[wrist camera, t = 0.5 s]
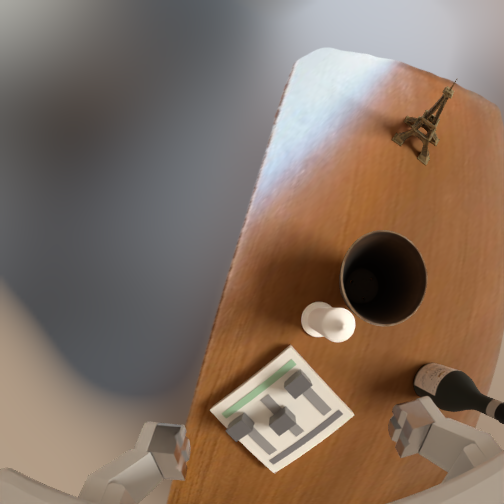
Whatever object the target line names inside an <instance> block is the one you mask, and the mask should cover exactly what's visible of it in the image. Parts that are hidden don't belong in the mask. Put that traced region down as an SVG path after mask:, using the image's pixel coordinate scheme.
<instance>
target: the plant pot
mask: <svg viewBox="0 0 504 504" xmlns="http://www.w3.org/2000/svg"><path fill="white" fill-rule="evenodd" d="M370 278H372V280H371V279H370ZM351 280H352V283H350V281H351ZM339 287H340V292H341V295H342V298H343V300H344V302H345V303H346V305H347V306H348V307H349V309H350V310H351V311H352V312H353V313H354V314H356V315H357V316H358V317H359V318H361V319H362V320H364V321H366V322H368V323H370V324H373V325H377V326H392V325H396V324H399V323H401V322H403V321H405V320H407V319H408V318H410V317H411V316H412V315H413V314H414V313H415V312H416V311H417V309H418V308H419V306H420V305H421V303H422V301H423V299H424V296H425V293H426V288H427V270H426V265H425V262H424V260H423V257H422V255H421V253H420V252H419V250H418V249H417V247H416V246H415V245H414V244H413V243H412V242H411V241H410V240H409V239H407V238H406V237H404V236H403V235H401V234H399V233H396V232H393V231H388V230H378V231H373V232H370V233H367V234H365V235H363V236H362V237H360V238H359V239H357V240H356V241H355V242H354V243H353V244H352V246H351V247H350V248H349V250H348V251H347V253H346V255H345V257H344V260H343V263H342V266H341V269H340V275H339ZM362 297H364V298H365V299H364V300H362Z"/></svg>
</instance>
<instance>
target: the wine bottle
mask: <svg viewBox="0 0 504 504" xmlns="http://www.w3.org/2000/svg"><path fill="white" fill-rule="evenodd" d="M413 384H414V390H415V392H416V394H418V395H419V396H420V397H425V396H429V397H430V398H431V400H432V401H433V402H434V404H435V405H436V406H437V407H438V408H440V409H442V410H445V411H451V412H457V411H463V410H471V409H472V410H477V411H479V412H482V413H484V414H486V415H488V416H490V417H492V418H494V419H496V420H498V421H499V422H500V423H502V424H504V402H501V401H498V400H495V399H493V398H490V397H487V396H485V395H483V394H481V393H480V392H479V390H478V389H477V387H476V386H475V384H474V382H473V381H472V379H471V378H470V377H469V376H467V375H466V374H465V373H464V372H462V371H459V370H456V369H453V368H449V367H446V366H443V365H440V364H436V363H429V364H426V365H424V366H423V367H421V368H420V370H419V371H418V372H417V374H416V376H415V378H414V383H413Z"/></svg>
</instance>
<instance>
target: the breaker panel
mask: <svg viewBox="0 0 504 504" xmlns="http://www.w3.org/2000/svg"><path fill="white" fill-rule="evenodd" d="M299 369H301V370H302V371H303V372H304V373H305V374H306V376H307V377H308V378H309V379H310V380H311V383H312V386H311V387H310V388H309V389H308V390H306V391H305V392H304V393H303V394H301V395H300V396H299V397H298V398H296V399H294V398H293V397H292V396H291V395H290V394H289V393H288V391H287V390H286V389H285V388H284V382H285V381H286V380H287V379H289V378H290V377H291V376H292V375H293V374H295V373H296V372H297V371H298V370H299ZM285 406H286V407H287V408H288V409H289V410H290V411H291V412H292V413H293V414H294V415H295V417H296V425H294V426H293V427H291V428H290V429H289V430H287V431H286V432H285V433H283V434H282V435H280V436H278V435H277V434H276V433H275V432H274V431H273V430H272V429H271V428H270V427H269V419H270V417H271V416H273V415H274V414H275V413H277V412H278V411H279V410H281V409H282V408H283V407H285ZM210 411H211V412H212V413H213V414H214V415H215V416H216V418H217V419H218V420H219V421H220V422H221V423H222V424H223V425H224V426H225V427H226V428H227V427H228V425H229V423H230V422H232V421H233V420H235V419H236V418H237V417H239V416H240V415H242V414H243V413H244V412H245V413H246V414H247V415H248V416H249V417H250V418H251V419H252V420H253V422H254V427H253V431H252V432H250V433H249V434H247V435H246V436H244V437H243V438H241V439H240V440H239V441H240V442H241V443H242V444H243V445H244V446H245V447H246V448H247V449H248V450H249V451H250V452H251V453H252V454H253V455H254V456H256V457H257V458H258V459H259V460H260V461H261V462H262V463H263V464H264V465H265V466H266V467H268V468H269V469H270V470H271V471H272V472H273V473H275V472H277V471H278V470H280V469H282V468H283V467H285V466H286V465H288V464H289V463H291V462H293V461H294V460H296V459H297V458H299V457H300V456H301V455H303V454H304V453H306V452H307V451H309V450H310V449H312V448H313V447H314V446H316V445H317V444H318V443H320V442H321V441H322V440H324V439H325V438H326V437H328V436H329V435H330V434H332V433H333V432H334V431H336V430H337V429H338V428H339V427H341V426H342V425H343V424H344V423H346V422H347V421H348V420H349V419H350V418H352V417H353V416H354V413H353V412H352V410H351V409H350V408H349V407H348V406H347V405H346V404H345V403H344V402H343V401H342V400H341V399H340V398H339V397H338V396H337V395H336V393H335V392H334V391H333V390H332V389H331V388H330V387H329V386H328V385H327V384H326V383H325V382H324V381H323V380H322V378H321V377H320V376H319V375H318V374H317V373H316V372H315V371H314V370H313V369H312V368H311V367H310V365H309V364H308V363H307V362H306V361H305V360H304V359H303V358H302V357H301V356H300V354H299V353H298V352H297V351H296V350H295V349H294V348H293V347H292V346H291V345H289V346H288V347H287V348H286V349H285V350H283V351H282V352H281V353H280V354H279V355H277V356H276V357H275V358H274V359H273V360H271V361H270V362H269V363H268V364H267V365H265V366H264V367H263V368H262V369H260V370H259V371H258V372H257V373H255V374H254V375H253V376H252V377H250V378H249V379H248V380H247V381H245V382H244V383H243V384H241V385H240V386H239V387H237V388H236V389H235V390H234V391H232V392H231V393H230V394H228V395H227V396H226V397H224V398H223V399H222V400H220V401H219V402H218V403H216V404H215V405H213V406H212V408H211V409H210Z"/></svg>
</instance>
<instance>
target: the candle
mask: <svg viewBox="0 0 504 504" xmlns="http://www.w3.org/2000/svg"><path fill="white" fill-rule="evenodd" d="M301 323H302V327H303V329H304V330H305V331H306V332H307V333H308V334H309V335H311V336H314V337H323V336H324V337H325V338H327V339H328V340H330V341H333V342H343V341H345V340H347V339H348V338H349V337H350V336H351V335H352V334H353V332H354V329H355V319H354V317H353V315H352V314H351V312H349V311H348V310H346V309H344V308H332V307H331V306H330V305H329V304H327V303H324V302H314V303H312V304H310V305H308V306H307V307H306V308H305V310H304V311H303V313H302V317H301Z"/></svg>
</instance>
